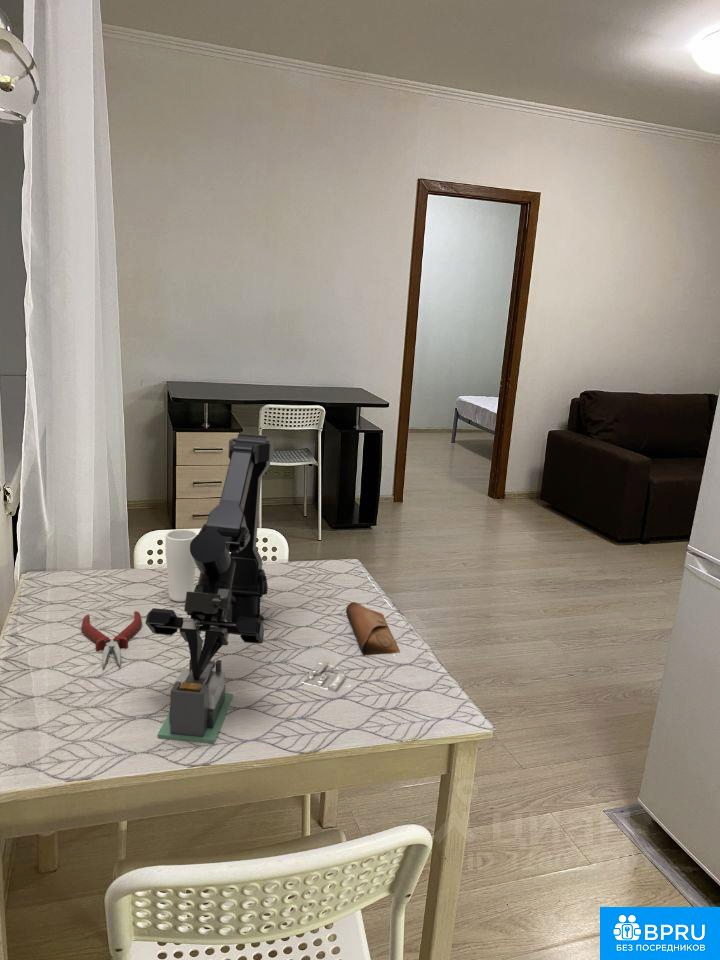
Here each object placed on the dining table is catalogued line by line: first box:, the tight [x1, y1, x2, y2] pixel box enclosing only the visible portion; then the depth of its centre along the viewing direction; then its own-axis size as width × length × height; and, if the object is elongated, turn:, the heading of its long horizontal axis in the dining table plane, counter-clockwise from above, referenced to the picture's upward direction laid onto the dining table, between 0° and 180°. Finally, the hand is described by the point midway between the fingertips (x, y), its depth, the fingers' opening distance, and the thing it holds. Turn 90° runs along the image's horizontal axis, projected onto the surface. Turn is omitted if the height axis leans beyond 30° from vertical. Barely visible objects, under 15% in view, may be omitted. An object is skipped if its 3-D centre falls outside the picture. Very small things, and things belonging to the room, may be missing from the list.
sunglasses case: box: [345, 601, 401, 656], centre depth 149 cm, size 18×7×7 cm, turn 12°
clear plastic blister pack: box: [300, 661, 347, 693], centre depth 132 cm, size 8×7×2 cm
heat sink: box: [168, 667, 226, 729], centre depth 117 cm, size 8×7×6 cm
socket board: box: [156, 658, 234, 744], centre depth 116 cm, size 13×9×8 cm
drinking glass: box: [164, 528, 198, 603], centre depth 157 cm, size 7×7×15 cm
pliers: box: [81, 610, 143, 670], centre depth 137 cm, size 12×20×3 cm, turn 18°
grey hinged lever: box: [179, 659, 216, 692], centre depth 115 cm, size 2×3×11 cm
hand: (195, 677), depth 114 cm, fingers closed, pressing on grey hinged lever
